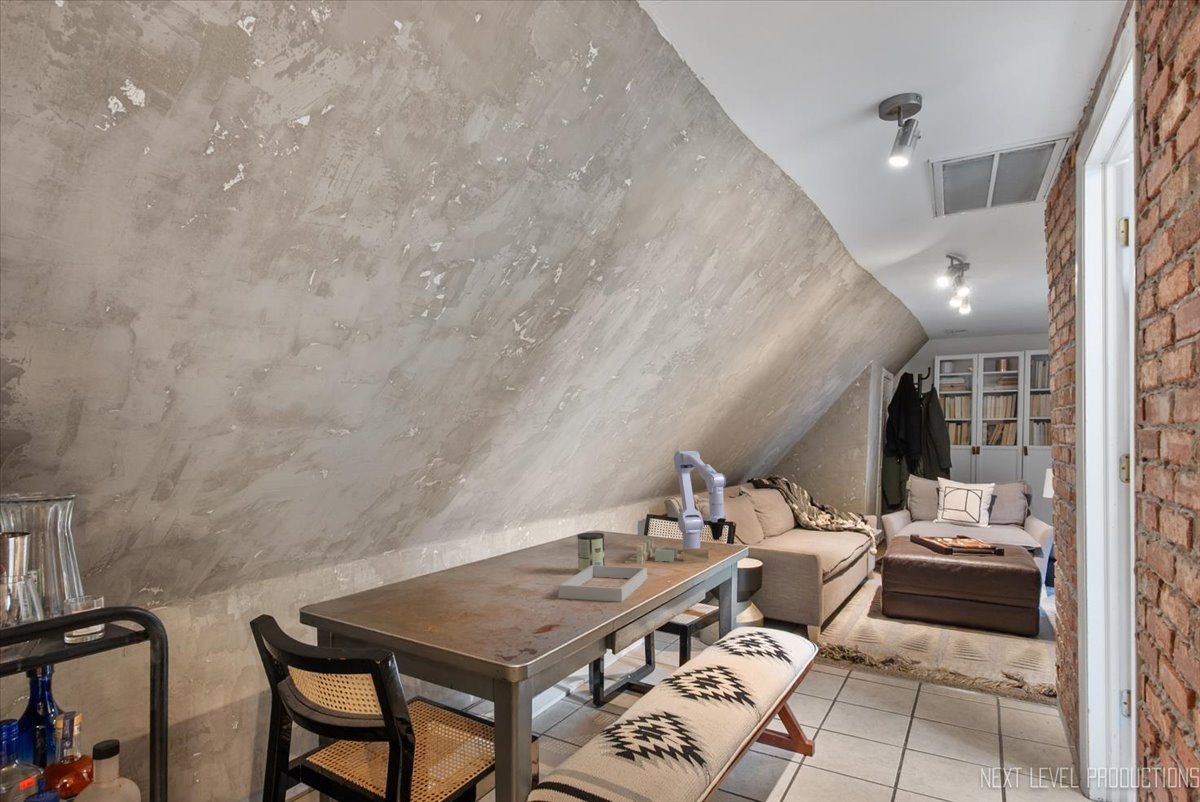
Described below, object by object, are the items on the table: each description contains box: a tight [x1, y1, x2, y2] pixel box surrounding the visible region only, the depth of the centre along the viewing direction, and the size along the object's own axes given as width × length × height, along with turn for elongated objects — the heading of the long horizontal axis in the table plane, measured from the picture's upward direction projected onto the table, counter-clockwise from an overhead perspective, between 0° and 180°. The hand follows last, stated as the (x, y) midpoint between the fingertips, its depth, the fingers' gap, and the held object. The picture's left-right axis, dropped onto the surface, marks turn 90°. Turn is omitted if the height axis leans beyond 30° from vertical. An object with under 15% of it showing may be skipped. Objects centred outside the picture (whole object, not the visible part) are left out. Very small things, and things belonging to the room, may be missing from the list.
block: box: [654, 546, 679, 563], centre depth 259 cm, size 9×8×4 cm
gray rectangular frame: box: [558, 565, 648, 603], centre depth 213 cm, size 32×21×4 cm, turn 162°
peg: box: [682, 547, 711, 563], centre depth 255 cm, size 4×10×5 cm, turn 75°
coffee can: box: [576, 532, 606, 573], centre depth 240 cm, size 10×10×14 cm
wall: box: [624, 537, 655, 564], centre depth 262 cm, size 20×7×7 cm, turn 162°
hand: (717, 538), depth 252 cm, fingers open, 7 cm apart
